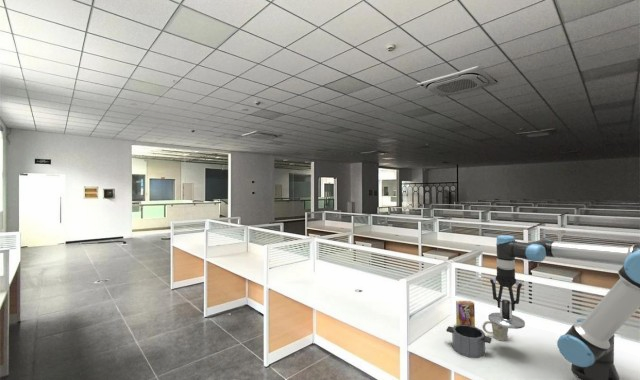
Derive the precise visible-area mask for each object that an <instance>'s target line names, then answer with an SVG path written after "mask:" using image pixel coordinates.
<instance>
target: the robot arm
mask: <svg viewBox="0 0 640 380" xmlns="http://www.w3.org/2000/svg"><path fill="white" fill-rule="evenodd" d="M495 246H496V276H495V277H494V278H493V277H491V278H490V280H489V281H490V284H491V289H492V297H493V298H492V299H493V300H495V301H497V308H498V309H499V311H500V312H499V313H500V316H502V296H503V290H504V288H508V289H507V290H508V293H509V299H510V318H512V315H513V312H514V311H515V310H516V305H519V304H520V298H521V296H520V295H521V288H522V286H523V283H522V282H519V281H517V279H516V270H515V268H516V258H517V259H521V260H527V261H531V262H537V263H541V262H543V261H544V260H545V258H554V259H555V258H556V259H565V260H571V261H579V262H581V261H582V262H590V263H597V264H606V265H614V266H621V268H620V269H619V270H618V272H617V274H618V276H619V279H618V280H617V282H615V283H614V285H613V286H612V287H611V288H610V289H609V291H608V292H607V293H606V294H605V295H604V296H603V297H602V299H601V300H600V301H599V303H597V305H596V306H595V307H594V308H593V309H592V310H591V311H590V313H589V314H588V315H587V316H586V317H585V318H578V319H577V320H576V322H574V323H573V324H572V326H571V327H570V328H569V329H568V330H567V331H566V332H565V333H564V334H562V335H560V336H559V337H558V339H557V343H556V344H557V348H558V351H559V353H560V354H561V356H562V357H563V358H564V359H565V360H566V361H567V362H569V363H571V365H570V366H571V367H570V370H571V372H572V374H574V376H575V377H577V376H578V377H577V378H579V379H580V380H582V379H583V380H621V379H620V375H619V373H618V371H617V369H616V366H615V363H614V361H615V337H616V336H615V334H616V333H617V332H618V331H619V329H620V328H622V326H623V325H624V324H625V323H626V322H627V321H628V320H629V319H630V318H631V317H632V316H633V315H634V314H635V312H636V311H638V310H639V309H640V244H633V245H631V246H625V245H624V246H623V245H621V246H620V245H609V244H598V243H596V244H595V243H582V242H573V241H572V242H570V241H557V240H556V241H555V240H551V239H539V240H534V241H529V242H523V241H522V242H521V241H517V240H516V238H515V236H513V235H508V234H507V235H506V234H501V235H498V236H497V237H496V244H495ZM496 282H497V283H498V284H499V290H498V293H497V287H496V284H497V283H496ZM514 285H515V287H517V288H516V295H515V294H514V291H513V286H514ZM497 294H498V295H497ZM514 295H515V296H514Z"/></svg>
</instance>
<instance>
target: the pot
mask: <svg viewBox="0 0 640 380" xmlns="http://www.w3.org/2000/svg"><path fill="white" fill-rule="evenodd" d="M445 329H446V332H447V333H451V334H452V335H451V336H452V337H451V342H452V343H451V344H452V345H451V346H452V349H453V351H454V352H456V353H458V355H461V356H463V357H464V356H465V357H467V358H474V359H479V358H483V357H485V354H486V344H491V342H492V339H493V338H492V337H490V336H487V335H486V332H485V331H484V330H483V329H481V328H479V327H476V326H475V327H474V326H470V325H454V326H450V325H449V326H448V327H447V328H445Z"/></svg>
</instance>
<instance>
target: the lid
mask: <svg viewBox="0 0 640 380" xmlns="http://www.w3.org/2000/svg"><path fill="white" fill-rule="evenodd" d="M501 301H502V316H500V312H491V313H490V314H488V321H491V322H492V323H494V324H496V325H498V326H502V327H505V328H508V329H514V330H516V329H517V330H518V329H523V328H524V327H525V326H526V322H525V320H523V318H521V317H519V316H517V315H514V314H512V318H510V302H511V300H508V299H501Z"/></svg>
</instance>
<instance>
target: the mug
mask: <svg viewBox="0 0 640 380" xmlns="http://www.w3.org/2000/svg"><path fill="white" fill-rule="evenodd" d="M488 324H491V328H492V331H488V330H487V329H486V325H488ZM482 331H483V332H484V333H485V334H486V333H487V334H491V335H492V336H493V338H494V339H495V340H499V341H502V342H503V341H506V340H507V339H508V332H509V328H505V327H502V326H498V325H496V324H494V323H492V322H491V321H490V320H486V321H484V322H483V323H482Z"/></svg>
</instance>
